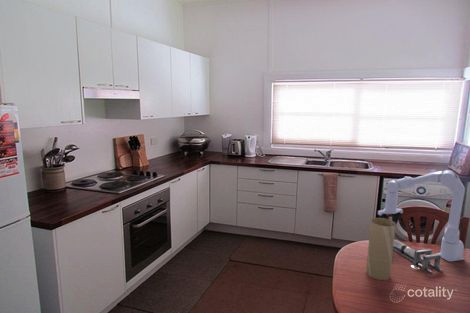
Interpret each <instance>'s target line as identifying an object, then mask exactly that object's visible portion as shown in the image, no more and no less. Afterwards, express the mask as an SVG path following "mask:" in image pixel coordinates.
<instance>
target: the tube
mask: <svg viewBox="0 0 470 313" xmlns="http://www.w3.org/2000/svg"><path fill="white" fill-rule="evenodd" d="M396 227H397V224H396V223H395V222H393V221H392V219H389V218H388V219H385V218H380V217H373V218H371V219H370V226H369V228H370V229H369V237H368V246H367V247H368V249H367V258H366V259H367V260H366V270H365V272H366V274H367V275H368V276H369V277H371V278H372V279H376V280H379V281H387V280H389V279H390V278H391V273H392V272H391V270H392V264H393V262H392V261H393V253H394V252H393V251H394V250H393V245H394V239H395V235H396V234H395V233H396Z"/></svg>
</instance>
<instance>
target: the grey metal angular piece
mask: <svg viewBox="0 0 470 313" xmlns="http://www.w3.org/2000/svg"><path fill="white" fill-rule="evenodd" d="M393 251H394V252H396V253H397V254H398V255H401V256H402V257H403V258H406V259H407V260H409V261H410V262H412V263H413V265H410V268H411V269H413V270H420V268H421V270H422V271H426V272H427V273H429V274H431V275H432V274H433V271H432V270H431V269H430V268H428V265H429V266H430V267H432V268H434V269H435V270H437V271H438V272H440V273H441V272H444V270H443V269H442V268H440V264H441V259H442V258H441V255H440V254H436V253H433V254H432V251H433V250H432V249H430V248H427V249H418V250H415V254H414V259H413V258H411V257H409V256H408V255H406V254H404V253H403V252H401V251H400V250H398V249H396V248H395V247H393ZM420 255H421V259H420V260H421V261H422V262H421V263H420V260H419V256H420ZM422 255H423V257H422ZM431 260H434V262H433V263H431Z"/></svg>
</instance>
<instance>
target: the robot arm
mask: <svg viewBox="0 0 470 313" xmlns="http://www.w3.org/2000/svg"><path fill="white" fill-rule="evenodd" d="M429 182H434V183H437V184H439V182H440V184H441V185H443V186H444V187H446V188H449V190H450V191H451V192H452V198H451V203H450V208H449V216H448V222H447V225H446V226H445V228H444V233H443V237H442V239H441V246H440V252H436V253H435V254H440V255H441V258H440V259H443V260H446V261H447V262H448V263H449V262H455V261H457V262H458V261H463V260H465V258H464V257H463V256H464V249H465V246H464V243H463V241H462V240H460V229H459V227H460V220H461V214H462V209H463V203H464V198H465V192H466V188H465V186H464V184H463V183H462V180H461V179H460V177H459V175H458V174H457V173H456V172H454V171H453V170H451V169H445V170H443V171H442V170H439V171H434V172H430V173H428V174H427V173H426V174H423V175H420V176H417V177H411V176H407V175H406V176H404V177H403V178H399V179H397V178H395V179H393V180H390V181H389V182H387V183H386V186H385V189H386V194H385V203H384V207H383V209H381V210H377V215H378V218H385V219H389V216H388V215H391V220H392V221H393V222H395V223H396V225H398V222H399V220H400V218H402V216H403V215H402V214H403V213H404V211H403V210H404V209H402V208H398V201H399V200H398V199H399V191H402V190H407V189H412V188H414V187H415V185H419V184H424V183H429Z"/></svg>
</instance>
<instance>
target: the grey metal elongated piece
mask: <svg viewBox="0 0 470 313" xmlns="http://www.w3.org/2000/svg"><path fill="white" fill-rule="evenodd" d="M393 247H394V248H395V249H397V250H399V251H400V252H402V253H403V254H405V255H407V256H408V257H410V258H411V259H413V260H414V254H415V251H416V250H415V249H413V248H411V247H409V245H406V244H405V243H402V242H401V241H400V240H398V239H397V238H396V239H395V238H394V245H393ZM421 257H422V255H420V256H419V261H420V259H421Z"/></svg>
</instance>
